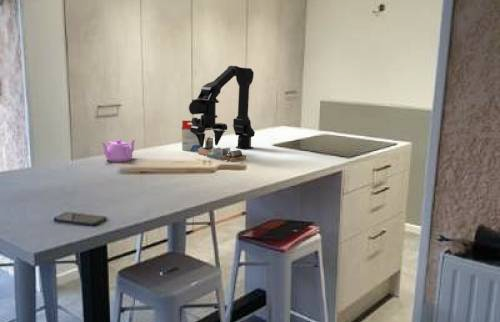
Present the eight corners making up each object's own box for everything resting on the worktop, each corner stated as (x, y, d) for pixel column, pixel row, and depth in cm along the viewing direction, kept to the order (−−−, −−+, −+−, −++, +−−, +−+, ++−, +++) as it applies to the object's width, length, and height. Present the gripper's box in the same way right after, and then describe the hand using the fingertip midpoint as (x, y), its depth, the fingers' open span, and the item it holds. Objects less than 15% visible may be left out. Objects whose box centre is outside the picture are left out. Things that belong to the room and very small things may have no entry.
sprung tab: (228, 153, 244) (228, 147, 244) (230, 154, 243) (230, 147, 243) (220, 155, 241) (220, 148, 240) (222, 155, 240) (222, 149, 239)
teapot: (100, 162, 226) (100, 141, 224) (110, 156, 240) (110, 136, 238) (128, 163, 226) (128, 142, 224) (136, 157, 239) (136, 137, 238)
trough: (236, 157, 244) (237, 153, 244) (246, 159, 240) (246, 155, 240) (222, 160, 237) (222, 156, 237) (231, 162, 233) (231, 158, 233)
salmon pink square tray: (209, 152, 254) (209, 146, 254) (219, 154, 250) (219, 148, 249) (198, 154, 249) (198, 148, 249) (208, 156, 245) (208, 150, 244)
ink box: (200, 149, 261) (201, 119, 258) (199, 151, 256) (199, 121, 253) (183, 148, 262) (183, 119, 259) (181, 150, 257) (181, 120, 254)
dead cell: (214, 153, 249) (214, 137, 248) (208, 154, 247) (208, 138, 245) (209, 152, 252) (209, 136, 250) (203, 153, 249) (203, 137, 248)
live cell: (236, 157, 242) (236, 149, 241) (242, 158, 240) (242, 150, 239) (225, 159, 237) (225, 151, 236) (231, 160, 234) (231, 152, 234)
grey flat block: (222, 154, 250) (222, 146, 250) (236, 157, 244) (236, 149, 244) (206, 156, 243) (207, 149, 242) (220, 159, 237) (220, 151, 236)
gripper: (211, 110, 258) (211, 141, 261) (182, 112, 244) (182, 146, 247) (228, 112, 250) (227, 144, 253) (198, 115, 237) (198, 149, 240)
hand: (209, 146), depth 249 cm, fingers open, 9 cm apart
